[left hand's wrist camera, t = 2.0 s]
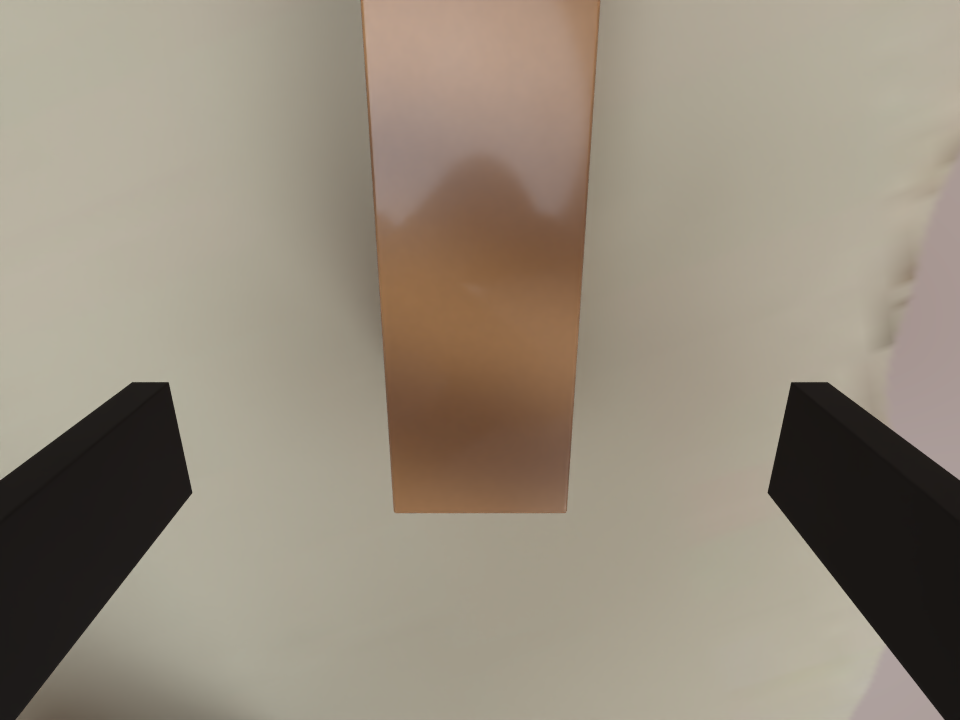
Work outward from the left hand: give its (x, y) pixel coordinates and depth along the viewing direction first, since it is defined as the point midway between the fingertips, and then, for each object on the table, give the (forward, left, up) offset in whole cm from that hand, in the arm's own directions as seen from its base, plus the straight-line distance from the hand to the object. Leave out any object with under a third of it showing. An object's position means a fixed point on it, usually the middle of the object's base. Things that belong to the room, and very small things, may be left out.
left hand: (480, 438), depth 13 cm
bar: (+27, 0, -13) cm, 30 cm away
